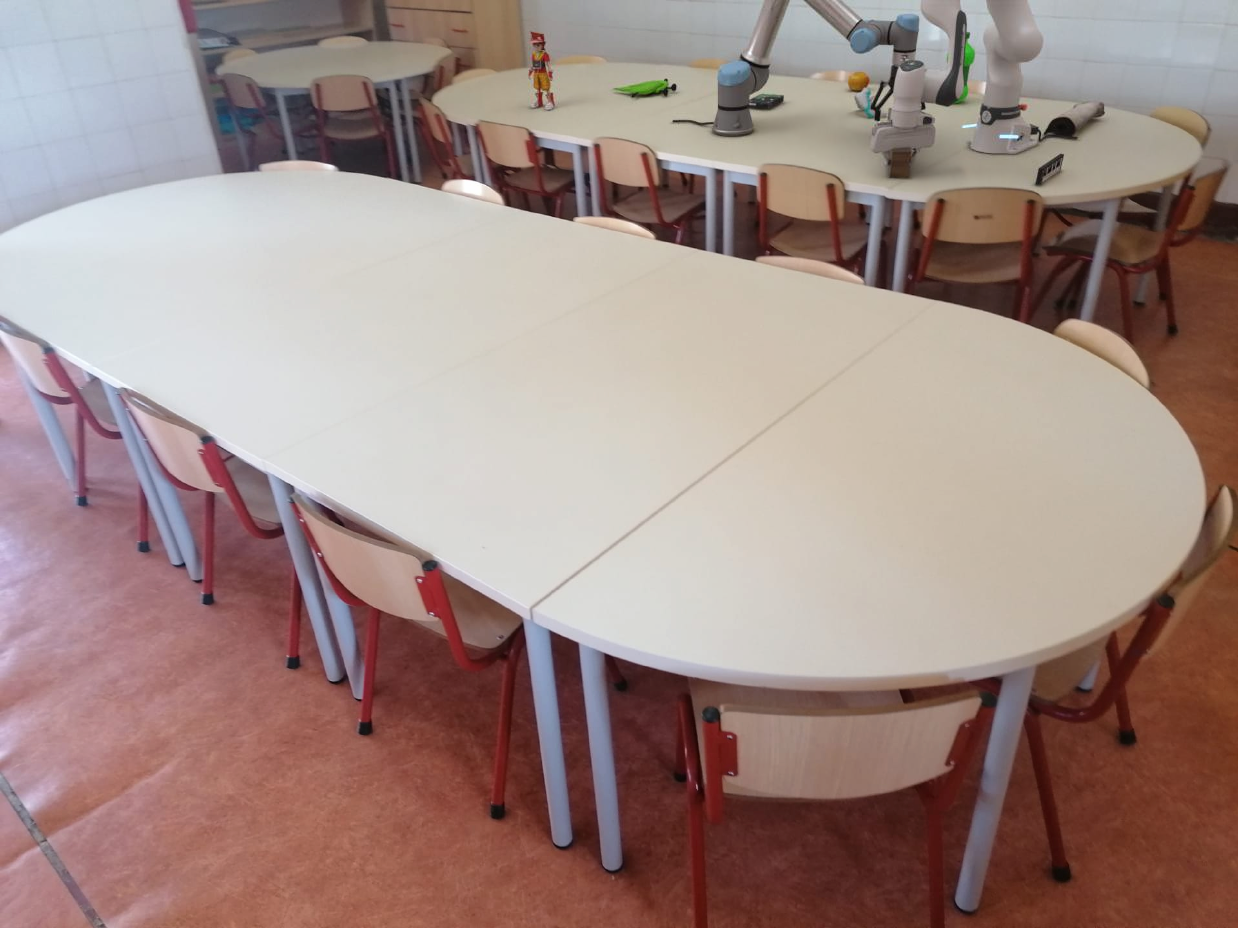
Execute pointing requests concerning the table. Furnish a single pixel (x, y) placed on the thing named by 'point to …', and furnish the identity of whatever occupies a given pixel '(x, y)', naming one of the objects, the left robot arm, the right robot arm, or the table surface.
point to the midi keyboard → (1049, 169)
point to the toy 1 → (541, 71)
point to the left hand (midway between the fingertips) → (895, 130)
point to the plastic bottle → (966, 66)
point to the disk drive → (765, 101)
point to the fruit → (858, 81)
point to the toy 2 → (648, 88)
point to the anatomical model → (866, 102)
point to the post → (899, 160)
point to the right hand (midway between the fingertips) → (899, 163)
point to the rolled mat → (1075, 118)
